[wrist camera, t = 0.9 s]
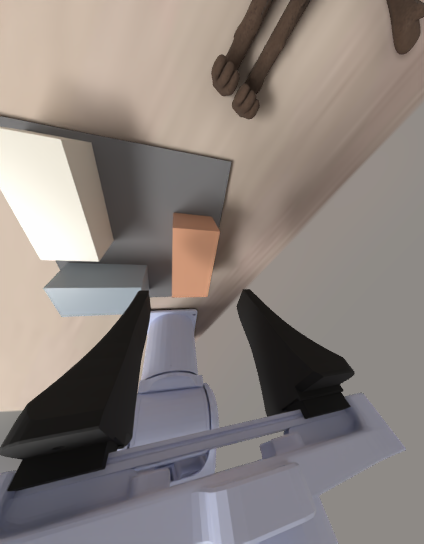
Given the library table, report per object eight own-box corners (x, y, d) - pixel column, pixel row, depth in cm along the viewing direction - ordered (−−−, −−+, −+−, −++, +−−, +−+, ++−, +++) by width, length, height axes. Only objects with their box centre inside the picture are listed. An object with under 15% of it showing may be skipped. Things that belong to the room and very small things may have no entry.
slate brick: (146, 264, 19) (141, 287, 16) (149, 289, 21) (144, 313, 18) (67, 262, 17) (43, 288, 14) (80, 289, 19) (61, 316, 16)
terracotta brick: (202, 275, 21) (207, 296, 18) (172, 275, 20) (171, 297, 17) (211, 216, 17) (220, 231, 14) (173, 212, 16) (172, 227, 13)
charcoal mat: (205, 294, 24) (205, 296, 24) (76, 296, 20) (74, 298, 20) (230, 161, 14) (231, 161, 14) (-16, 113, 10) (-20, 112, 10)
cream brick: (113, 240, 16) (99, 261, 13) (68, 237, 15) (40, 259, 12) (91, 142, 12) (60, 139, 9) (24, 129, 11) (-38, 121, 8)
